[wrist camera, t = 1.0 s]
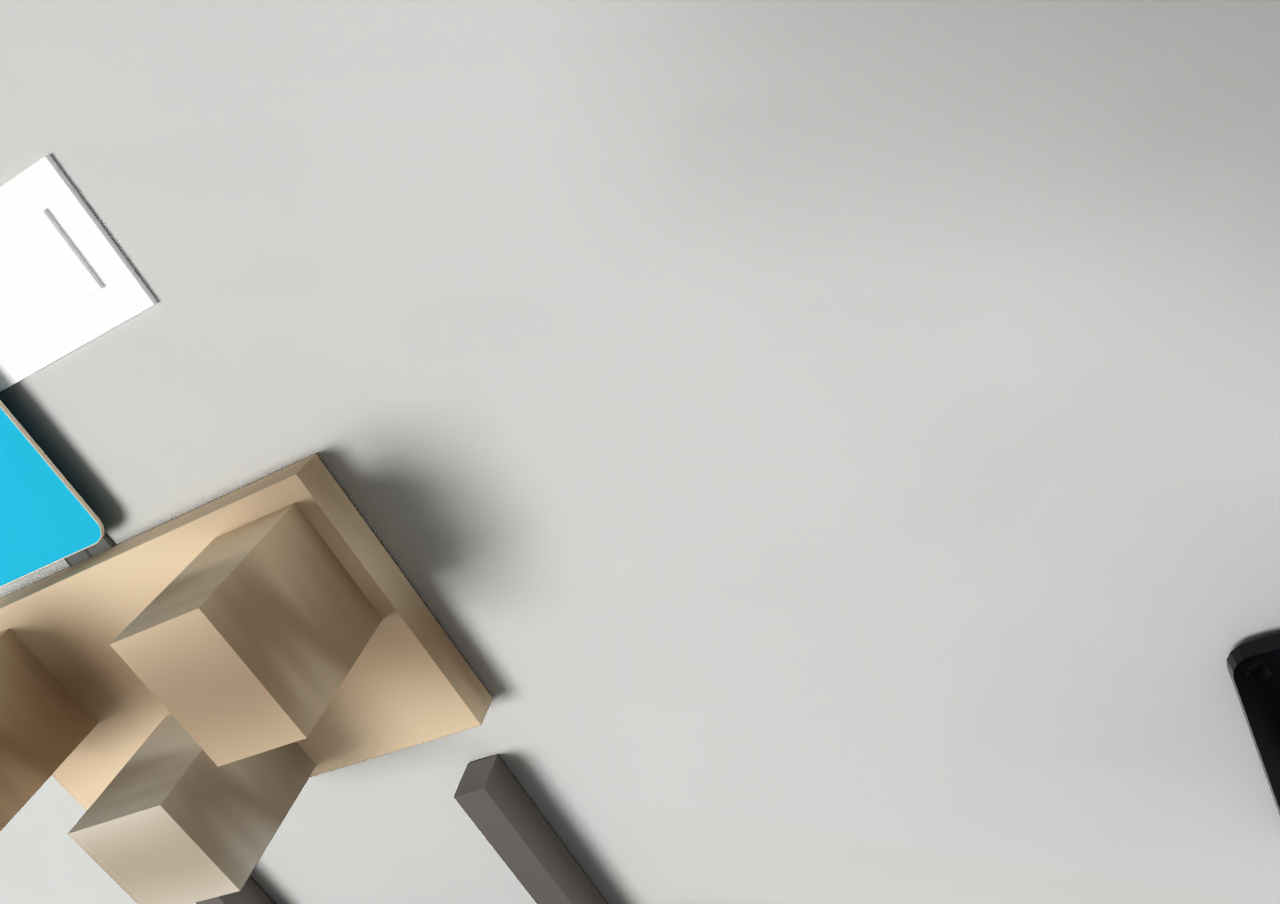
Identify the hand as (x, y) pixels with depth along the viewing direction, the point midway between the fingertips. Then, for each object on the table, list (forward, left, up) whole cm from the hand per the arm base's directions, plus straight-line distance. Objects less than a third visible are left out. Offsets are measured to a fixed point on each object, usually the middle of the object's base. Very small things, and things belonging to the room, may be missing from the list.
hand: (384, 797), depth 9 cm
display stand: (-4, +16, -13) cm, 21 cm away
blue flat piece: (+7, +16, -14) cm, 22 cm away
